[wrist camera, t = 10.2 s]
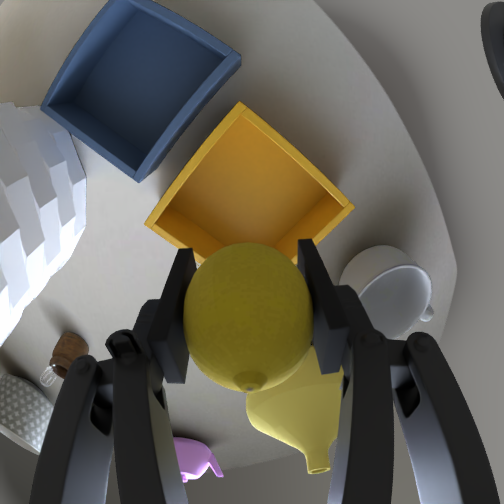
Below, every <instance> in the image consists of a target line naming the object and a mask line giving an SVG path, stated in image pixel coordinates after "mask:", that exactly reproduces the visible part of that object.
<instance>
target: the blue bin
mask: <svg viewBox="0 0 504 504" xmlns="http://www.w3.org/2000/svg"><path fill="white" fill-rule="evenodd" d="M240 66H241V55H240V54H239V53H237V52H236V51H235V50H233V49H232V48H230V47H229V46H227V45H226V44H225V43H223V42H222V41H220V40H219V39H217V38H216V37H214V36H213V35H211V34H210V33H208V32H206V31H205V30H203V29H202V28H200V27H198V26H197V25H195V24H193V23H192V22H190V21H188V20H187V19H185V18H183V17H182V16H180V15H178V14H176V13H174V12H173V11H171V10H169V9H167V8H165V7H163V6H161V5H159V4H157V3H155V2H153V1H151V0H109V1H108V2H107V3H106V4H105V5H104V7H103V8H102V9H101V10H100V12H99V13H98V14H97V15H96V17H95V18H94V19H93V21H92V22H91V23H90V25H89V26H88V27H87V29H86V30H85V31H84V33H83V34H82V36H81V37H80V38H79V40H78V41H77V43H76V44H75V46H74V47H73V49H72V50H71V52H70V54H69V55H68V57H67V58H66V60H65V62H64V63H63V65H62V67H61V68H60V70H59V72H58V74H57V76H56V77H55V79H54V81H53V83H52V85H51V87H50V89H49V91H48V92H47V94H46V96H45V99H44V101H43V103H42V105H41V107H40V110H41V111H42V112H44V113H45V114H46V115H48V116H49V117H50V118H52V119H53V120H54V121H56V122H57V123H58V124H60V125H61V126H62V127H64V128H65V129H66V130H68V131H69V132H70V133H71V134H73V135H74V136H75V137H77V138H78V139H79V140H81V141H82V142H83V143H85V144H86V145H88V146H89V147H90V148H92V149H93V150H94V151H96V152H97V153H98V154H100V155H101V156H102V157H104V158H105V159H106V160H108V161H109V162H110V163H112V164H113V165H114V166H116V167H117V168H118V169H120V170H121V171H122V172H124V173H125V174H127V175H128V176H129V177H131V178H132V179H133V180H135V181H136V182H137V183H140V182H141V181H142V180H144V179H145V178H146V177H147V176H148V175H150V174H151V173H152V172H153V171H155V170H156V169H157V168H158V166H159V165H160V164H161V162H162V161H163V159H164V158H165V157H166V155H167V154H168V152H169V151H170V150H171V148H172V147H173V146H174V144H175V143H176V142H177V140H178V139H179V138H180V136H181V135H182V134H183V132H184V131H185V130H186V129H187V127H188V126H189V125H190V124H191V122H192V121H193V120H194V119H195V117H196V116H197V115H198V114H199V112H200V111H201V110H202V109H203V108H204V106H205V105H206V104H207V103H208V102H209V101H210V99H211V98H212V97H213V96H214V95H215V94H216V93H217V91H218V90H219V89H220V88H221V87H222V86H223V85H224V84H225V82H226V81H227V80H228V79H229V78H230V77H231V76H232V75H233V74H234V73H235V72H236V71H237V70H238V69H239V68H240Z"/></svg>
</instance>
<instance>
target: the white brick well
mask: <svg viewBox="0 0 504 504" xmlns="http://www.w3.org/2000/svg"><path fill="white" fill-rule="evenodd" d="M85 227H86V175H85V173H84V170H83V168H82V165H81V163H80V160H79V158H78V155H77V152H76V150H75V147H74V144H73V142H72V139H71V136H70V133H69V131H68V130H66V129H65V128H64V127H62V126H61V125H60V124H58V123H57V122H56V121H54V120H53V119H52V118H50V117H49V116H48V115H46V114H45V113H44V112H42V111H41V110H40V106H39V105H38V106H28V107H16V108H15V105H14V103H13V102H7V103H1V104H0V348H1V346H2V344H3V343H4V341H5V340H6V338H8V337H9V335H10V334H11V332H12V331H13V329H14V328H15V326H16V325H17V323H18V322H19V320H20V319H21V314H22V311H23V309H24V308H25V307H26V306H27V305H28V304H29V303H30V302H31V300H32V299H35V298H36V297H37V295H38V294H39V293H40V292H41V290H42V289H43V288H44V286H45V285H46V284H47V282H48V279H49V278H50V277H51V276H52V275H53V274H54V273H55V272H56V271H58V270H60V269H61V268H62V266H63V265H64V264H65V263H66V262H67V261H68V260H69V258H70V256H71V254H72V252H73V250H74V248H75V246H76V244H77V242H78V240H79V238H80V236H81V234H82V232H83V231H84V229H85Z"/></svg>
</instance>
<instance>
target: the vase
mask: <svg viewBox="0 0 504 504" xmlns="http://www.w3.org/2000/svg"><path fill="white" fill-rule="evenodd" d="M343 375H344V372H343V368H342V365H341V367H340V371H339V372H337V373H331V374H324V375H321V372H320V367H319V363H318V359H317V355H316V351H315V347H314V346H310V348H309V351H308V354H307V356H306V358H305V360H304V362H303V363H302V364H301V366H300V367H299V368H298V370H297V371H296V372H295V373H294V374H293V375H291V376H290V377H289V378H288V379H286V380H285V381H284V382H282V383H280V384H278V385H276V386H274V387H272V388H269V389H266V390H263V391H258V392H256V393H250V394H249V393H247V398H246V412H247V415H248V417H249V420H250V422H251V424H252V425H253V426H254V427H255V428H256V429H257V430H259V431H261V432H264V433H266V434H268V435H270V436H272V437H274V438H276V439H278V440H280V441H282V442H285V443H287V444H289V445H291V446H293V447H295V448H297V449H299V450H300V451H301V452H302V453H304V454H305V457H306V461H307V468H308V473H309V474H317V473H322V472H325V471H328V470H330V463H329V458H328V449H329V447H330V445H331V444H332V442H333V441H334V440H335V439H336V438H337V435H338V426H339V415H340V403H341V390H339V388H340V385H341V381H342V378H343Z"/></svg>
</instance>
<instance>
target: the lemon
mask: <svg viewBox="0 0 504 504" xmlns="http://www.w3.org/2000/svg"><path fill="white" fill-rule="evenodd" d="M183 329H184V336H185V340H186V344H187V347H188V350H189V353H190V355H191V357H192V359H193V361H194V362H195V364H196V365H197V366H198V368H199V369H200V370H201V371H202V372H203V373H204V374H205V375H206V376H207V377H209V378H210V379H211V380H212V381H214V382H216V383H217V384H219V385H221V386H223V387H226V388H229V389H232V390H236V391H242V392H244V393H249V394H250V393H256V392H258V391H263V390H266V389H269V388H272V387H274V386H276V385H278V384H280V383H282V382H284V381H285V380H286V379H288V378H289V377H290V376H291V375H293V374H294V373H295V372H296V371H297V370H298V368H299V367H300V366H301V364H302V363H303V362H304V360H305V358H306V356H307V354H308V351H309V348H310V345H311V342H312V338H313V331H314V315H313V302H312V297H311V294H310V291H309V289H308V286H307V284H306V282H305V279H304V277H303V275H302V273H301V272H300V271H299V269H298V268H297V267H296V266H295V265H294V263H293V262H292V261H291V260H290V259H289V258H288V257H287V256H285V255H284V254H282V253H281V252H279V251H278V250H276V249H275V248H272V247H269V246H266V245H264V244H259V243H250V242H245V243H236V244H232V245H229V246H226V247H224V248H221V249H220V250H218V251H217V252H215V253H214V254H212V255H211V256H209V257H208V258H207V259H206V260H205V261H204V262H203V263H202V265H201V266H200V267H199V268H198V269H197V270H196V272H195V273H194V275H193V278H192V280H191V282H190V284H189V287H188V289H187V292H186V295H185V300H184V311H183Z"/></svg>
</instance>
